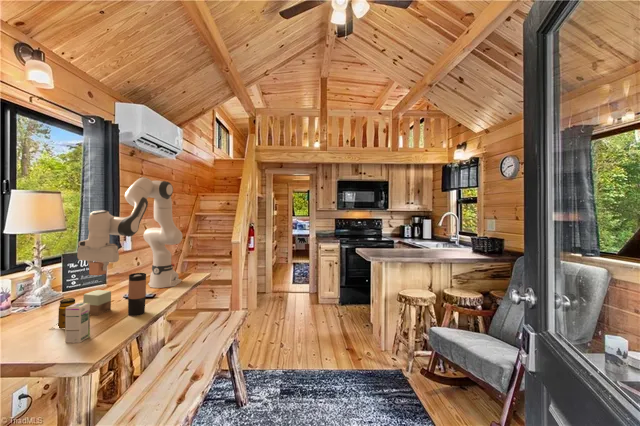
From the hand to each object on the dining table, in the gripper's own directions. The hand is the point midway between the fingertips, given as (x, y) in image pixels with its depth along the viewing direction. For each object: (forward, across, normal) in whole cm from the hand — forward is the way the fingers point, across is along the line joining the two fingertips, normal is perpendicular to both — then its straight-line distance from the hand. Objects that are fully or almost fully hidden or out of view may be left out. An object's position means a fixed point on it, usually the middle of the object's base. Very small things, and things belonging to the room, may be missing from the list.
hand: (98, 269), depth 153 cm
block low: (+22, 0, 0) cm, 22 cm away
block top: (+17, 0, 0) cm, 17 cm away
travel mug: (+22, -20, -2) cm, 30 cm away
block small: (+2, 0, 0) cm, 2 cm away
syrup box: (+22, -18, +29) cm, 40 cm away
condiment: (+22, -1, +18) cm, 28 cm away
